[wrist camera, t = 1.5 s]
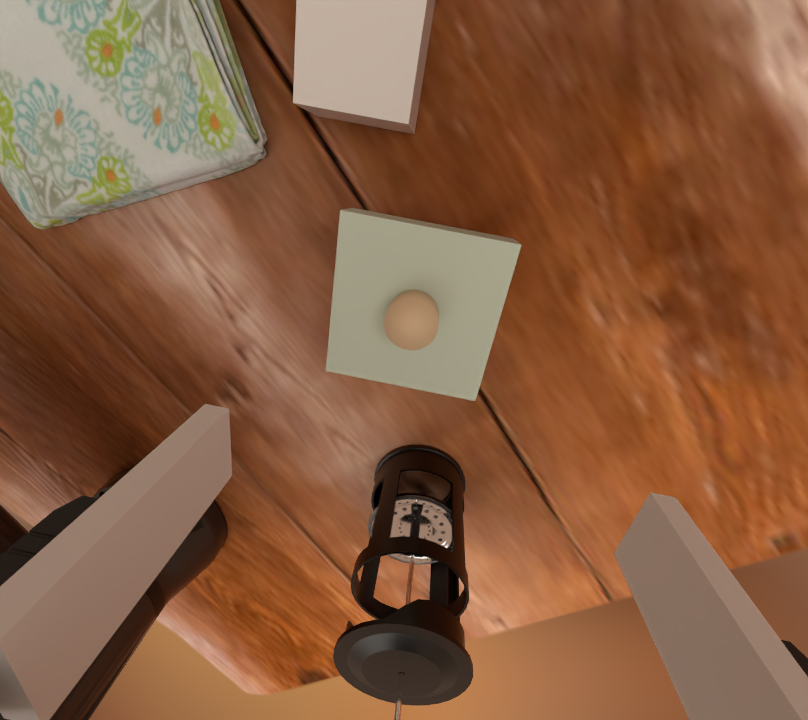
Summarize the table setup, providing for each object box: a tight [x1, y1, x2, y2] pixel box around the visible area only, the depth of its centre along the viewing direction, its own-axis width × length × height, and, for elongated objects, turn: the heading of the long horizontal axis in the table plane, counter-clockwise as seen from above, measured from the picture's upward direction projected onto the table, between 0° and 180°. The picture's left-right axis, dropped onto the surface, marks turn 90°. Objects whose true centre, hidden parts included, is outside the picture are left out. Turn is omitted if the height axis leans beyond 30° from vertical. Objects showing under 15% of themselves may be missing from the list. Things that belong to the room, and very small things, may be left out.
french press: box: [333, 445, 473, 720], centre depth 29 cm, size 12×9×23 cm
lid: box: [326, 208, 521, 401], centre depth 23 cm, size 10×10×5 cm
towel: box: [0, 0, 267, 230], centre depth 24 cm, size 18×21×5 cm
